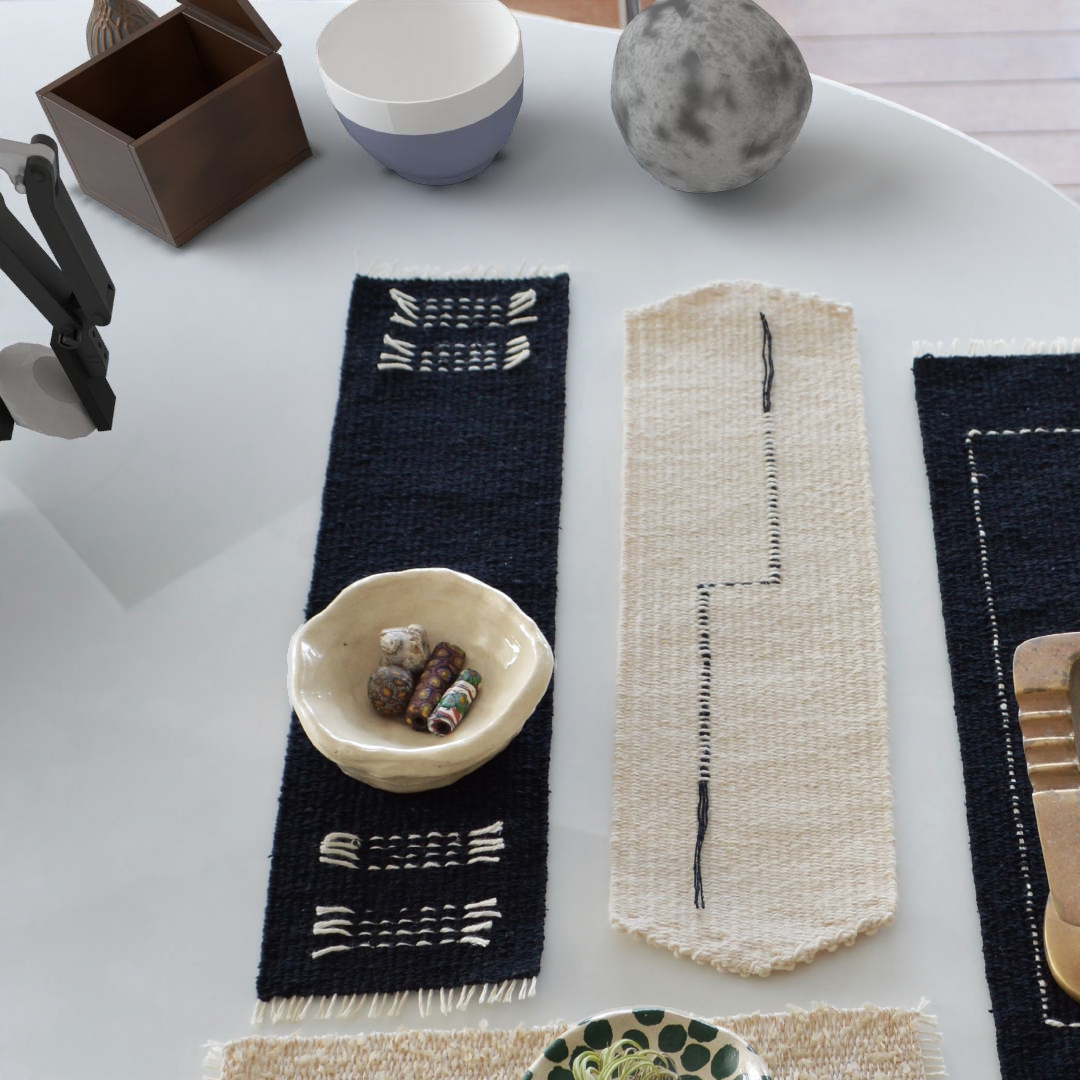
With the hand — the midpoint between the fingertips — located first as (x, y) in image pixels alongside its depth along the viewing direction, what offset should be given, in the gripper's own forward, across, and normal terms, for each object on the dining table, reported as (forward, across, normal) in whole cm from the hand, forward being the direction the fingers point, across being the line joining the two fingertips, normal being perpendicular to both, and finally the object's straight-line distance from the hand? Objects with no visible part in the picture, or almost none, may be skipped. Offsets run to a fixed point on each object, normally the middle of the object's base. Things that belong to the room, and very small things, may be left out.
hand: (57, 418), depth 84 cm
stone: (+15, -42, -36) cm, 58 cm away
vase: (+15, +5, -55) cm, 57 cm away
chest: (+15, 0, -43) cm, 45 cm away
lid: (-2, -3, -46) cm, 46 cm away
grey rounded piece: (0, 0, 0) cm, 0 cm away
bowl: (+15, -20, -43) cm, 50 cm away
